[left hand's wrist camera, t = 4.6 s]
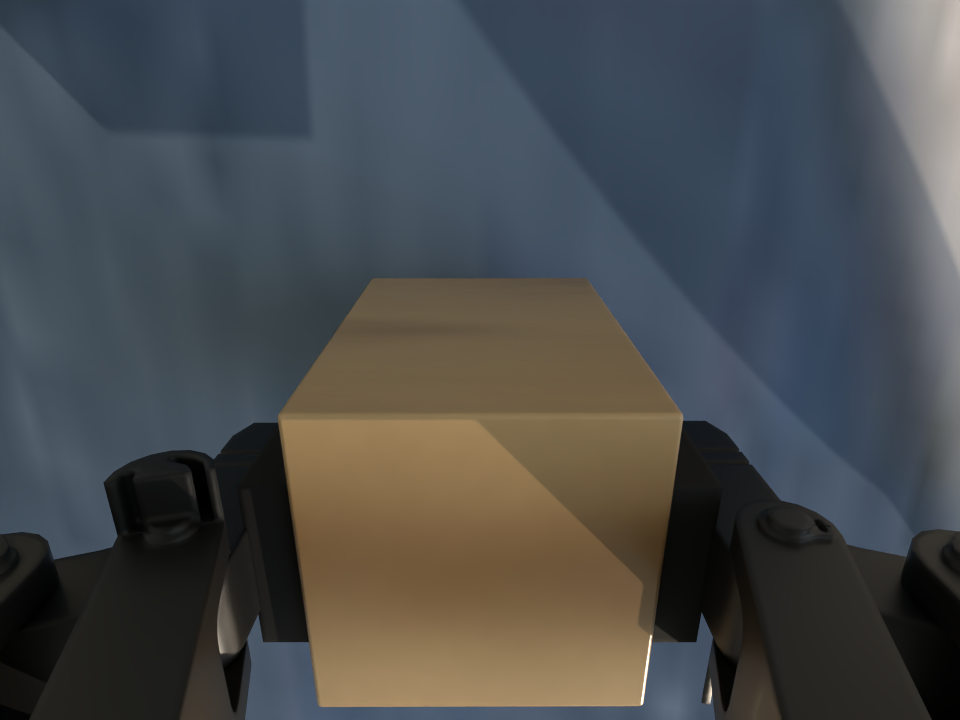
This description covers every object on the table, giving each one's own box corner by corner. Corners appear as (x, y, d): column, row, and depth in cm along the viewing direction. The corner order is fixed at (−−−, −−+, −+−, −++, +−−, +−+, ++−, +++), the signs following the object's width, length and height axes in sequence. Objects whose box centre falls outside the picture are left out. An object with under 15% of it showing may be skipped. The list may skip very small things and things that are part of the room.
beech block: (575, 464, 16) (644, 708, 9) (384, 464, 16) (316, 709, 9) (587, 277, 14) (685, 414, 7) (371, 277, 14) (274, 415, 7)
